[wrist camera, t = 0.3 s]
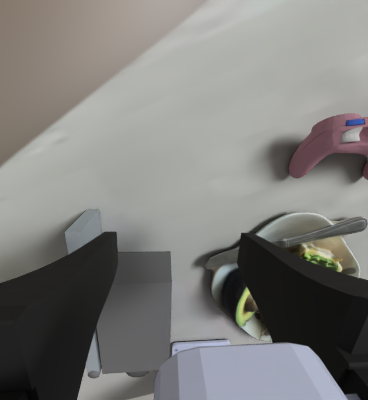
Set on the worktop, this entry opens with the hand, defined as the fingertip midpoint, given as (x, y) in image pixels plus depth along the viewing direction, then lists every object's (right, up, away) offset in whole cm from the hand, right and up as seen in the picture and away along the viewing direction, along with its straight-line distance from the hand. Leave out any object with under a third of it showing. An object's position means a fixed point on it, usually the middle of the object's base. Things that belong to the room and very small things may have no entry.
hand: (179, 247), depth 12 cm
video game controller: (+16, +8, +9) cm, 20 cm away
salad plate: (+12, -7, +15) cm, 20 cm away
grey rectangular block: (-5, -9, +13) cm, 16 cm away
